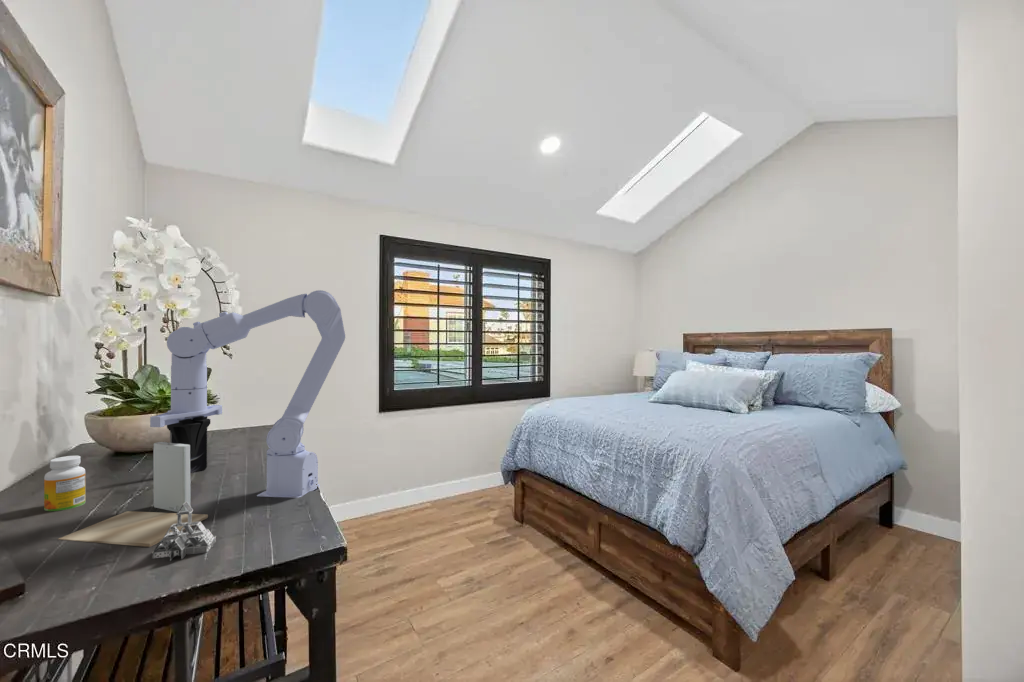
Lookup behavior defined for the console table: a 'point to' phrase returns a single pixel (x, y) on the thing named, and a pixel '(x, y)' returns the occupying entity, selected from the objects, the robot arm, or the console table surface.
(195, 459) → the smartphone
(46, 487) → the supplement bottle
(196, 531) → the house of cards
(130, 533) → the birch board
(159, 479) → the external hard drive
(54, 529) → the console table surface
